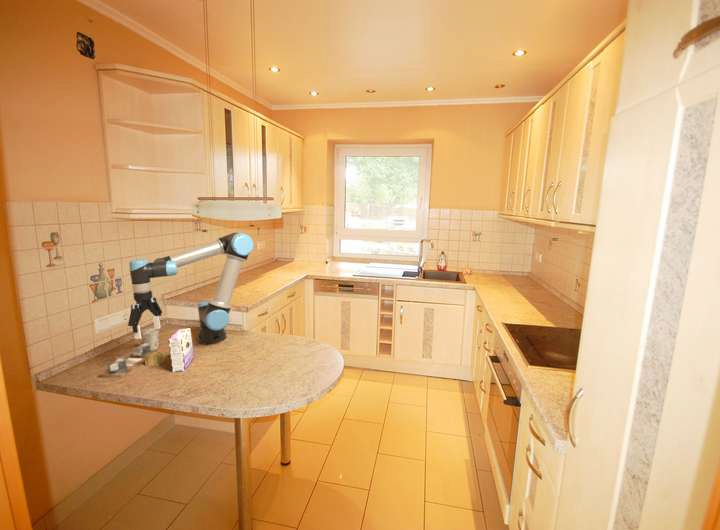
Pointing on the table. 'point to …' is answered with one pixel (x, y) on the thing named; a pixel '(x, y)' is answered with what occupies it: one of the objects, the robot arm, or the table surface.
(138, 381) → the table surface
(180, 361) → the candy box
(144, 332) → the mug
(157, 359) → the block
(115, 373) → the shaft bed
